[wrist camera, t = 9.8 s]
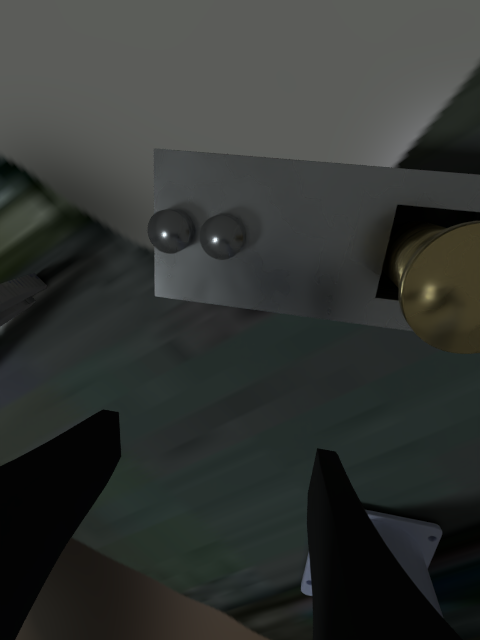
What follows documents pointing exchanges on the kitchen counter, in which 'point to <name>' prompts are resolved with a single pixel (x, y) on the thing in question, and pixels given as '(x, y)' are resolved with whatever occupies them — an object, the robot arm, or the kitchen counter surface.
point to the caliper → (18, 295)
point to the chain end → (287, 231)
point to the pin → (438, 282)
